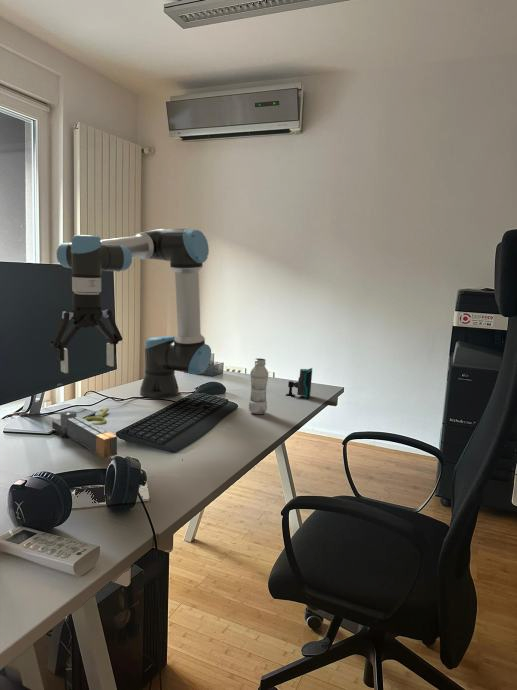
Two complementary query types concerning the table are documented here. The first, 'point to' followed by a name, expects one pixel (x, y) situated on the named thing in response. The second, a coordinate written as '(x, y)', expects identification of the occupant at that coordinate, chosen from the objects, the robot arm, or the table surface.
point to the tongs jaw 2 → (112, 437)
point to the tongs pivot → (63, 423)
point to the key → (99, 417)
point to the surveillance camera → (302, 383)
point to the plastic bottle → (258, 387)
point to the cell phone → (100, 495)
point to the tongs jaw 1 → (89, 437)
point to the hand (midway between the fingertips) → (88, 368)
